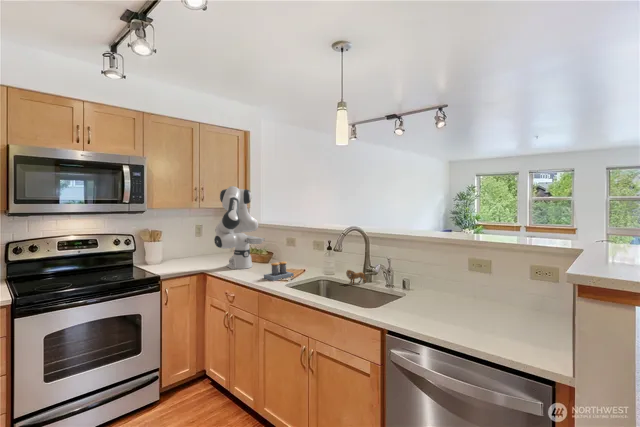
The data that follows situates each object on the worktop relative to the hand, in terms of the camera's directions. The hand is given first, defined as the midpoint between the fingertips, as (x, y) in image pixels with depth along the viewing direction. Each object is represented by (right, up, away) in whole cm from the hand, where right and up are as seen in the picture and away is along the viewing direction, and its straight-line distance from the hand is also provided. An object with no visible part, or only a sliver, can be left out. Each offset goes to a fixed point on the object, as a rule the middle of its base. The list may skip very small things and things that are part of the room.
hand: (259, 238), depth 213 cm
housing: (+11, -27, +11) cm, 31 cm away
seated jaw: (+13, -27, +14) cm, 33 cm away
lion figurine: (+62, -28, -6) cm, 68 cm away
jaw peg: (+9, -27, +9) cm, 30 cm away
